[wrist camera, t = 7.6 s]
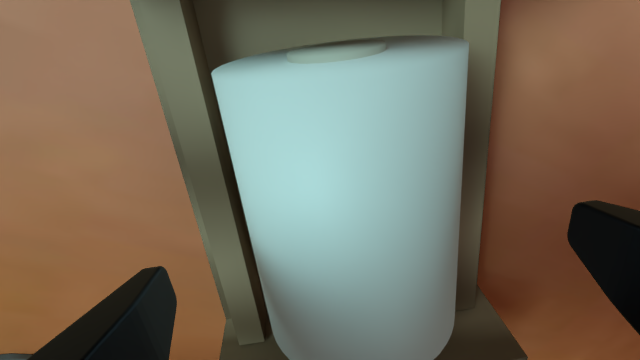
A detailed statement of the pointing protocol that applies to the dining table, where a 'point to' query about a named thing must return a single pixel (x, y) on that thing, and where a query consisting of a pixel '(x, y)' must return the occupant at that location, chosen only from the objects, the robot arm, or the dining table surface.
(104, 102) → the dining table surface
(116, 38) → the dining table surface
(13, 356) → the coffeepot
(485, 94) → the cradle
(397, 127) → the cylinder
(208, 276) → the dining table surface
